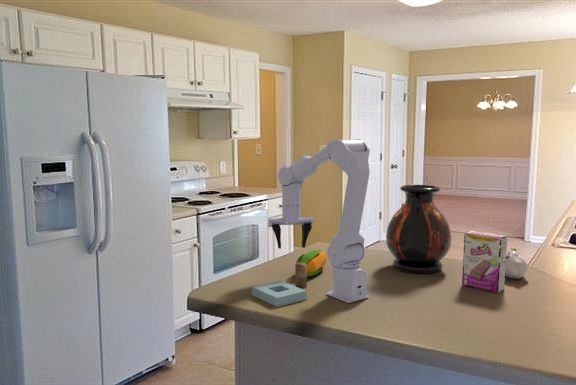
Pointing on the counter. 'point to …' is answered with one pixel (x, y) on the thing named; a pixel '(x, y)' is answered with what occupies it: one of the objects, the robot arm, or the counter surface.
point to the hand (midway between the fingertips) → (291, 247)
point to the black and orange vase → (418, 232)
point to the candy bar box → (484, 261)
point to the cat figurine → (515, 265)
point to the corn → (313, 261)
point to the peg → (301, 275)
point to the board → (279, 293)
